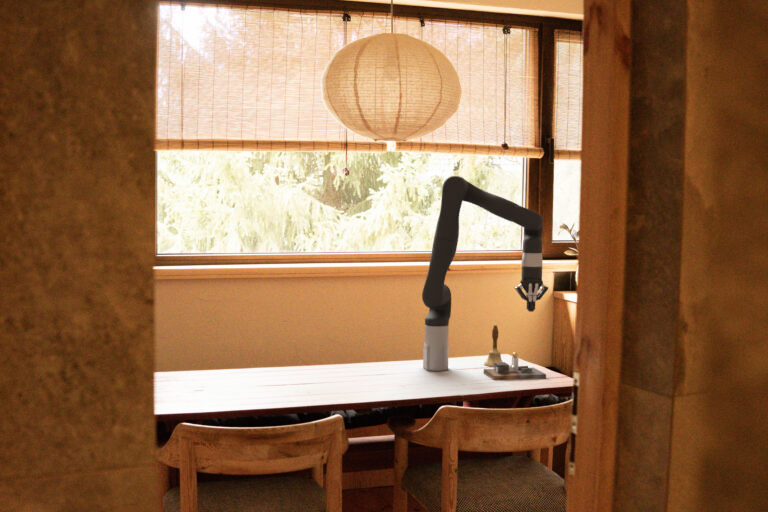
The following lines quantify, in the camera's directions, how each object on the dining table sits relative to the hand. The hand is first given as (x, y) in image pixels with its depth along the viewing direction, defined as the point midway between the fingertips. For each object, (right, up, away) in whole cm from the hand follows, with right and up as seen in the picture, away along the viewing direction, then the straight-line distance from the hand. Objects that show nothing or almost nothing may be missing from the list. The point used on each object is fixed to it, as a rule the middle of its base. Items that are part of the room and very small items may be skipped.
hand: (530, 311), depth 263 cm
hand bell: (-11, -23, +20) cm, 32 cm away
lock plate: (-6, -24, 0) cm, 25 cm away
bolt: (-9, -22, 0) cm, 24 cm away
